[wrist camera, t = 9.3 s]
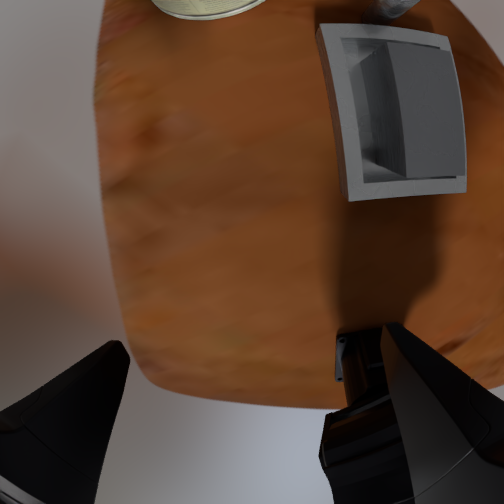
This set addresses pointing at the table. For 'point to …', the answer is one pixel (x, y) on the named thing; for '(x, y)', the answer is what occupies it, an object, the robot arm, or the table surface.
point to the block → (414, 110)
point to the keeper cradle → (356, 106)
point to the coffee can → (205, 8)
